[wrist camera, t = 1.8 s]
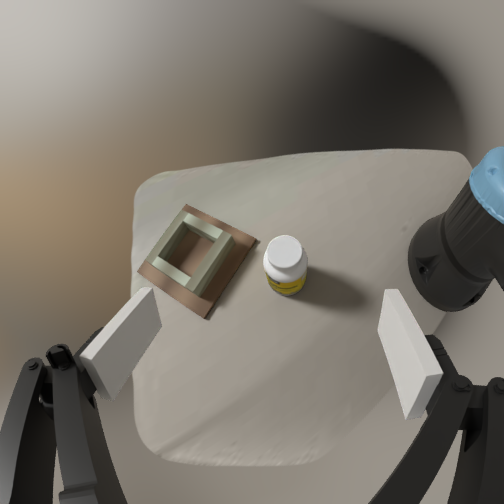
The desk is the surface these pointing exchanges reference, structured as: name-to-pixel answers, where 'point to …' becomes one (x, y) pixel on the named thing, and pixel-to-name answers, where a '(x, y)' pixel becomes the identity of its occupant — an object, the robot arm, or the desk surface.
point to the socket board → (196, 259)
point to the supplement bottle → (285, 265)
